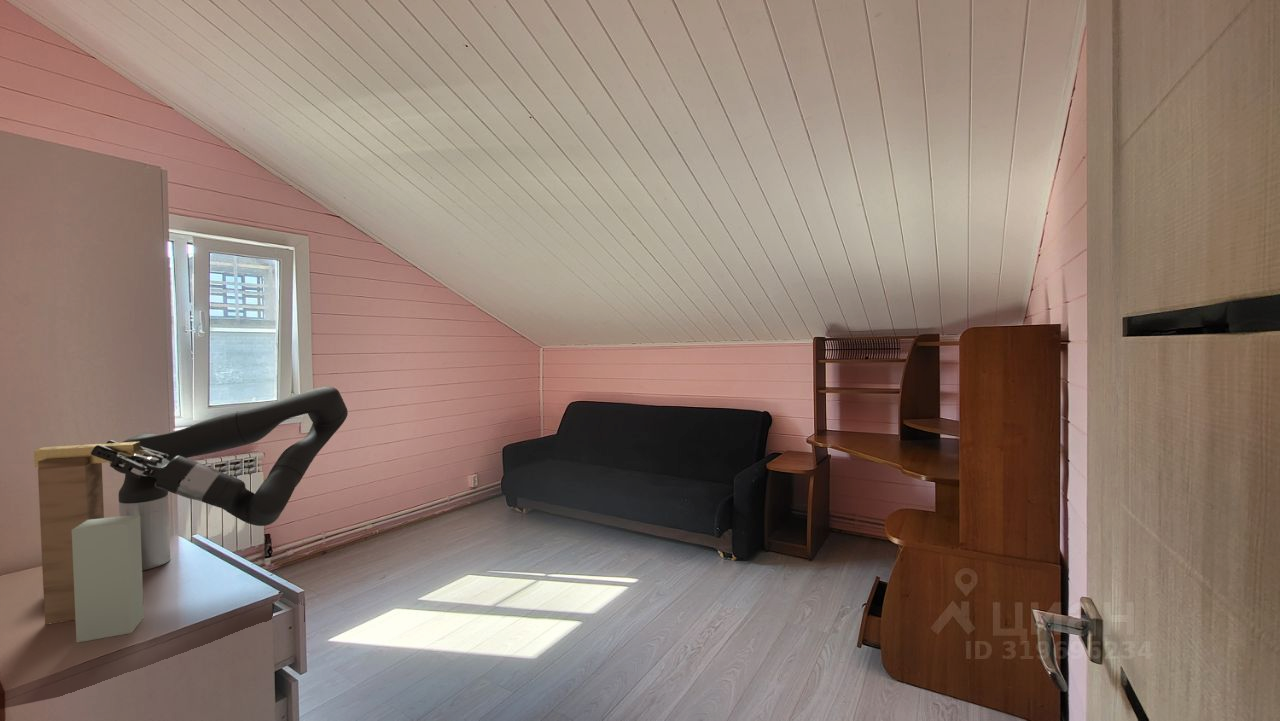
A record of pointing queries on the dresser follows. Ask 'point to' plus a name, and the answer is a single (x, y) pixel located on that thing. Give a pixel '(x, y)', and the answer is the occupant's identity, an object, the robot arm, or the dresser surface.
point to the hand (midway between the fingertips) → (100, 446)
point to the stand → (64, 526)
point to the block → (107, 577)
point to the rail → (83, 451)
